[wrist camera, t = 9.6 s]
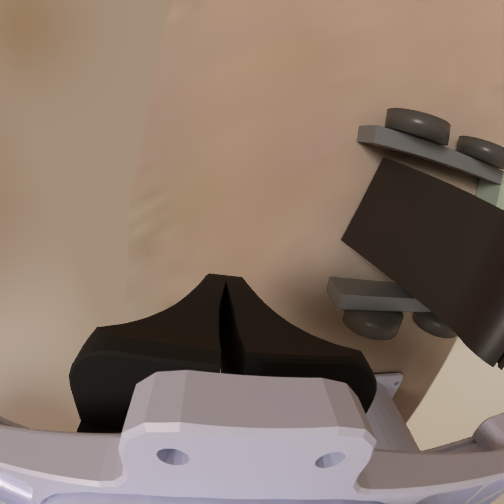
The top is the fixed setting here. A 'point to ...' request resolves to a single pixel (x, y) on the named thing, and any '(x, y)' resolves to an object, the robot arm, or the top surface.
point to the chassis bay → (429, 148)
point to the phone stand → (437, 251)
